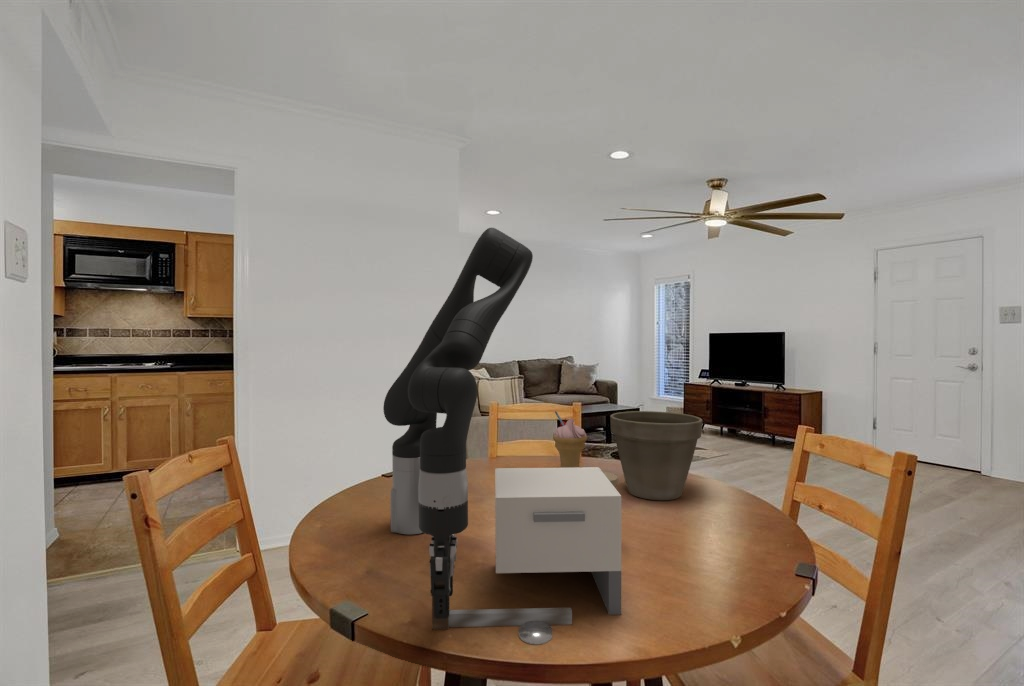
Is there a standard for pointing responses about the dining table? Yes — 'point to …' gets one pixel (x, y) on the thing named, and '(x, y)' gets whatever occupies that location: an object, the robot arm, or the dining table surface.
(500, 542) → the cabinet
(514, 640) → the dining table surface
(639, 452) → the plant pot
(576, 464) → the ice cream cone
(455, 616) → the blade tool
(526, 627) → the ball
